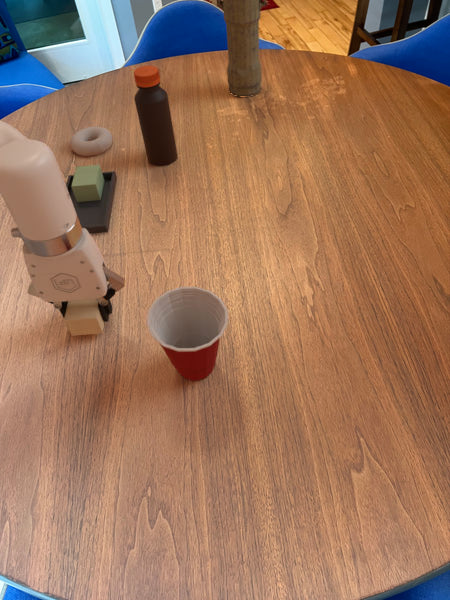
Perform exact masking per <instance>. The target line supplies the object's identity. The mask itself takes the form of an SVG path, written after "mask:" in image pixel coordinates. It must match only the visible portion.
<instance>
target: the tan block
mask: <svg viewBox="0 0 450 600" xmlns="http://www.w3.org/2000/svg"><path fill="white" fill-rule="evenodd" d="M63 322H64V323H65V326H66V327H67V329H68V331H69V333H70V335H71V336H87V335H98V334H99V335H100V334H104V329H105V323H106V322H104V321H103V318H102V316H101V314H100V311H99V309H98V301H97V300H96V299H87V300H75V301H68V305H67V309H66V314H65V318H64V317H63Z"/></svg>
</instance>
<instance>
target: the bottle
mask: <svg viewBox="0 0 450 600" xmlns="http://www.w3.org/2000/svg"><path fill="white" fill-rule="evenodd" d="M133 77H134V82H135V85H136V87H137V88H138V90H137V92H136V93H135V95H134V104H135V108H136V113H137V117H138V121H139V126H140V131H141V136H142V140H143V144H144V150H145V153H146V158H147V161H148V163H149V164H150V165H151V166H154V167H166V166H167V167H168V166H169V165H172V164H173V163H175V162H176V161H177V160H178V150H177V144H176V138H175V137H176V136H175V132H174V125H173V120H172V119H173V118H172V115H171V113H172V112H171V108H170V102H169V96H168V92H167V91H166V90H165V89H164V88H162V87H161V86H160V85H161V76H160V71H159V67H157V66H155V65H143V66H139V67H137V68H136V69H135V70H134V71H133Z"/></svg>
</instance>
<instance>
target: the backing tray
mask: <svg viewBox="0 0 450 600" xmlns="http://www.w3.org/2000/svg"><path fill="white" fill-rule="evenodd" d="M102 174H103V177H104V186H103V191H102V196H101V200H95V201H84V202H77V200H76V198H75V195H74V192H73V190H72V187H71V185H72V182H73V178H74V174H69V175H68V177H67V180H66V182H65V184H66V187H67V190H68V192H69V195H70V198H71V200H72V203H73V206H74V208H75V211H76V214H77V216H78V219H79V222H80V224H81V227H82V228H85V229H86V230H87V231H88V232H89V233H90V234H100V233H109V228H110V222H111V216H112V209H113V203H114V198H115V191H116V186H117V178H118V176H117V172H116V171H115V170H112V171H102Z"/></svg>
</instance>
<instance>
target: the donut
mask: <svg viewBox="0 0 450 600" xmlns="http://www.w3.org/2000/svg"><path fill="white" fill-rule="evenodd" d="M113 140H114V138H113V134H112V133H111V132H110V130H108V129H107V128H105V127H103V126H94V125H93V126H89V127H88V126H87V127H84V128H81V129H79V130H77V131H76V132H75V133H73V135H71V138H70V141H69V144H70V149H71V150H72V151H73V152H74V153H75V154H77V155H79V156H81V157H82V156H83V157H93V156H98V155H101V154H103V153H105V152H106V151H108V150H109V149H110V148H111V147H112V144H113V143H114V141H113Z"/></svg>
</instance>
